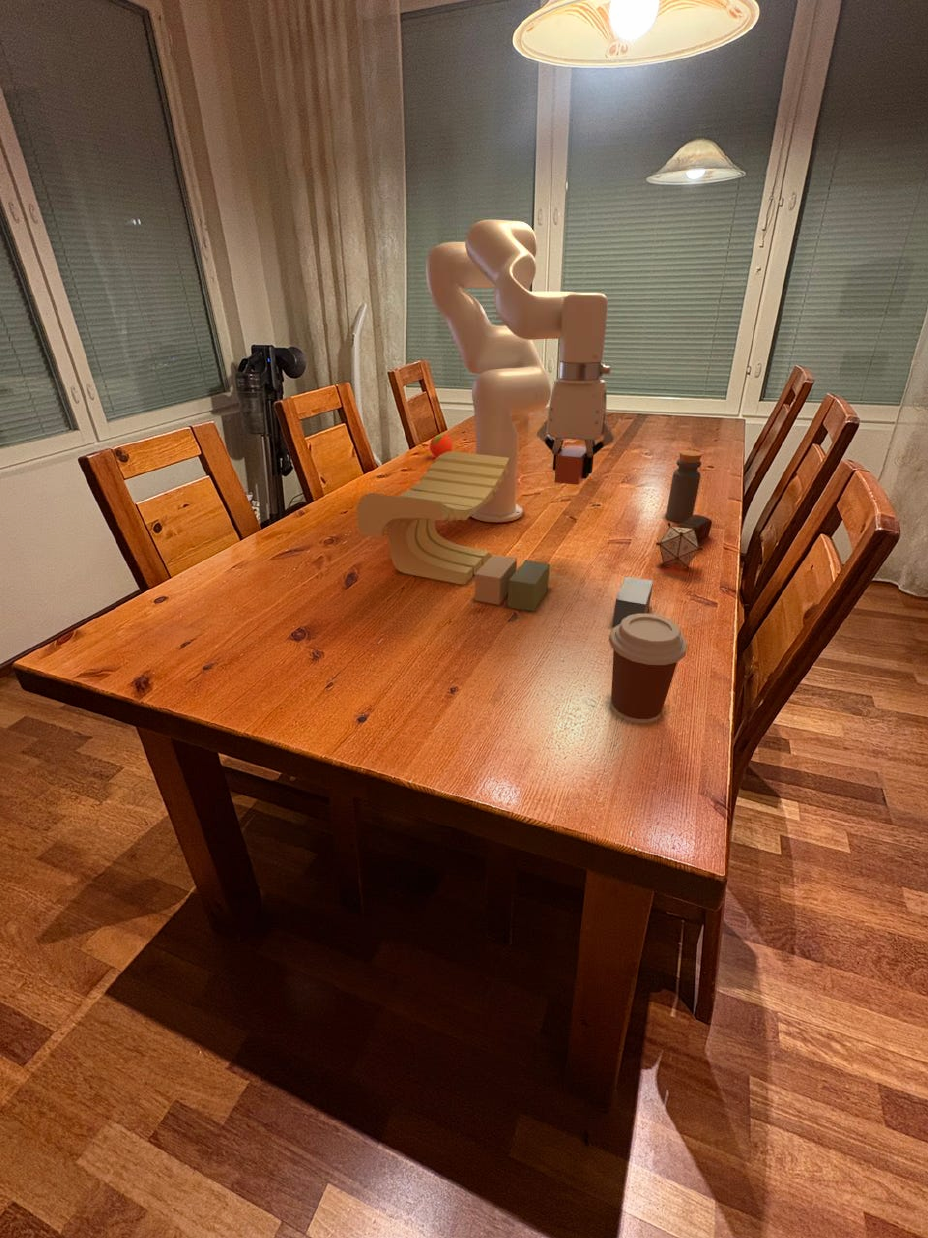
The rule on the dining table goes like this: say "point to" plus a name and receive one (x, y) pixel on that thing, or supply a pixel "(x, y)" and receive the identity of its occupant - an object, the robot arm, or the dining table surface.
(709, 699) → the dining table surface
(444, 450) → the tomato
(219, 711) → the dining table surface
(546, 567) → the block
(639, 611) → the block
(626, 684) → the coffee cup
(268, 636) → the dining table surface
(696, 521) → the brick
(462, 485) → the slatted curved stool
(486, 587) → the block
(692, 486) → the bottle
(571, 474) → the loose block
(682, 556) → the game die
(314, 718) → the dining table surface
